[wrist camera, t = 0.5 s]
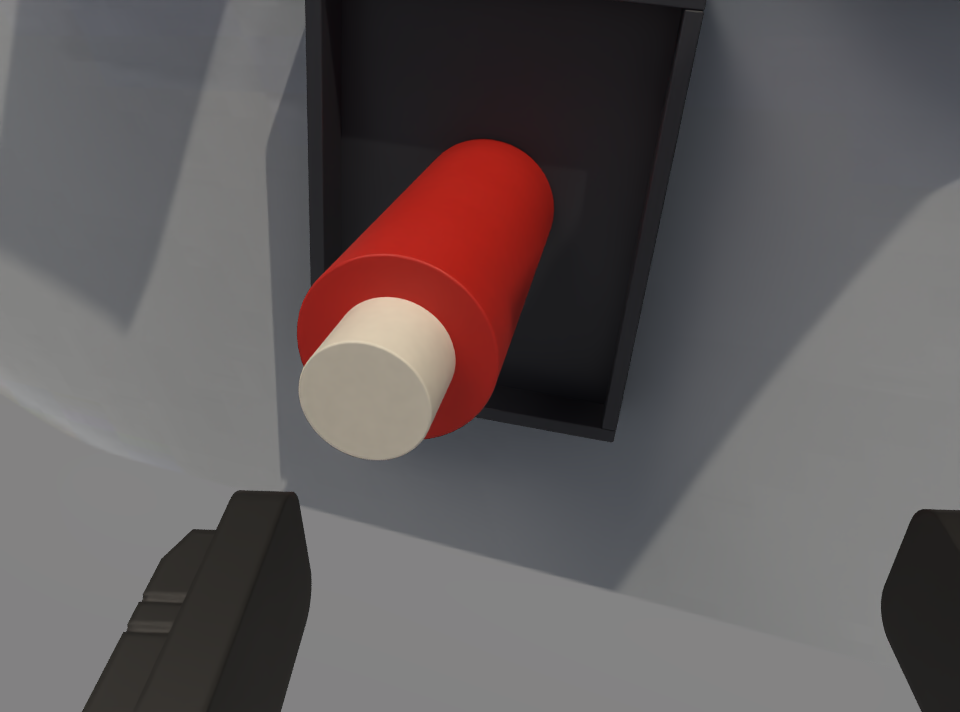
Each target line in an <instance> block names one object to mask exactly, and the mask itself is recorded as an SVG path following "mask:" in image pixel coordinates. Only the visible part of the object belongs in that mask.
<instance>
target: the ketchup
mask: <svg viewBox="0 0 960 712" xmlns="http://www.w3.org/2000/svg"><path fill="white" fill-rule="evenodd" d="M553 217H554V200H553V195H552V191H551V188H550V185H549V182H548V180H547V178H546V176H545V174H544V173H543V171H542V170H541V168H540V167H539V166H538V165H537V163H536V162H535V161H534V160H533V159H532V158H531V157H530V156H528V155H527V154H526V153H525V152H523V151H522V150H520V149H519V148H517V147H515V146H513V145H511V144H508V143H505V142H502V141H498V140H493V139H473V140H468V141H464V142H461V143H458V144H456V145H454V146H452V147H450V148H449V149H447V150H446V151H444V152H443V153H442V154H441V155H440V156H439V157H437V158H436V159H435V160H434V161H433V162H432V163H431V164H430V165H429V167H428V168H427V169H426V170H425V171H424V172H423V173H422V174H421V175H420V176H419V177H418V178H417V179H416V180H415V181H414V182H413V183H412V184H411V185H410V186H409V187H408V188H407V189H406V190H405V191H404V192H403V193H402V194H401V195H400V196H399V197H398V198H397V199H396V200H395V201H394V202H393V203H392V204H391V205H390V206H389V207H388V208H387V209H386V210H385V211H384V212H383V213H382V214H381V215H380V216H379V217H378V218H377V219H376V220H375V221H374V222H373V223H372V224H371V225H370V226H369V227H368V228H367V229H366V230H365V231H364V232H363V233H362V234H361V236H360V237H359V238H358V239H357V240H356V241H355V242H354V243H353V244H352V245H351V246H350V247H349V248H348V249H347V250H346V251H345V252H344V253H343V254H342V255H341V256H340V257H339V258H338V259H337V260H336V261H335V262H334V263H333V264H332V265H331V266H330V267H329V268H328V269H327V270H326V271H325V272H324V273H323V274H322V275H321V276H320V277H319V278H318V279H317V280H316V281H315V283H314V284H313V285H312V287H311V288H310V289H309V291H308V293H307V295H306V296H305V298H304V300H303V303H302V306H301V309H300V312H299V317H298V323H297V340H298V349H299V353H300V357H301V360H302V363H303V366H304V368H303V370H302V373H301V375H300V380H299V399H300V403H301V407H302V410H303V412H304V415H305V417H306V418H307V420H308V422H309V423H310V425H311V426H312V428H313V429H314V430H315V431H316V433H317V434H318V435H319V436H320V437H321V438H322V439H324V440H325V441H326V442H327V443H329V444H330V445H331V446H333V447H334V448H336V449H338V450H339V451H341V452H343V453H346V454H348V455H351V456H353V457H357V458H361V459H366V460H379V461H380V460H389V459H394V458H397V457H400V456H403V455H405V454H407V453H409V452H410V451H412V450H413V449H414V448H416V447H417V446H418V445H419V444H420V443H421V442H422V441H423V439H430V438H435V437H439V436H442V435H445V434H448V433H451V432H453V431H455V430H457V429H459V428H461V427H463V426H464V425H465V424H467V423H468V422H470V421H471V420H472V419H473V418H474V417H475V416H477V415H478V414H479V413H480V412H481V410H482V409H483V408H484V406H485V405H486V404H487V402H488V401H489V399H490V397H491V395H492V393H493V391H494V388H495V385H496V382H497V379H498V377H499V374H500V371H501V368H502V365H503V363H504V360H505V357H506V354H507V351H508V348H509V346H510V343H511V340H512V337H513V334H514V331H515V329H516V326H517V323H518V320H519V317H520V315H521V312H522V309H523V306H524V303H525V300H526V298H527V295H528V292H529V289H530V286H531V284H532V281H533V278H534V275H535V272H536V269H537V267H538V264H539V261H540V258H541V255H542V252H543V250H544V247H545V244H546V241H547V238H548V236H549V233H550V230H551V227H552V223H553Z"/></svg>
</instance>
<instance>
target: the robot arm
mask: <svg viewBox="0 0 960 712" xmlns="http://www.w3.org/2000/svg"><path fill="white" fill-rule="evenodd" d="M310 599H311V569H310V563H309V557H308V552H307V546H306V540H305V534H304V528H303V522H302V517H301V511H300V505H299V500H298V497H297V495H296V494H295V493H294V492H277V491H245V490H239V491H236V492H235V493H234V494H233V496H232V497H231V499H230V501H229V503H228V505H227V508H226V510H225V512H224V514H223V516H222V518H221V520H220V523H219V525H218V527H217V529H216V530H199V529H197V530H196V529H193V530H192V531H191V532H190V533H188V534H187V535H186V536H185V537H184V538H183V539H182V540H181V541H180V542H179V543H178V544H177V545H176V546H175V547H174V548H173V549H172V550H171V551H169V552H168V554H166V555H165V556H164V557H163V558H162V559H161V561H160V563H159V565H158V566H157V568H156V570H155V572H154V574H153V576H152V578H151V580H150V582H149V584H148V586H147V588H146V590H145V591H144V593H143V600H142V602H139V603H138V605H137V607H136V609H135V611H134V613H133V615H132V617H131V618H130V620H129V623H128V628H127V631H126V632H123V634H122V636H121V638H120V640H119V642H118V644H117V645H116V647H115V649H114V651H113V653H112V655H111V657H110V659H109V661H108V663H107V665H106V667H105V669H104V671H103V673H102V674H101V676H100V678H99V680H98V682H97V684H96V686H95V688H94V690H93V692H92V694H91V696H90V698H89V699H88V701H87V703H86V705H85V707H84V709H83V711H82V712H281V709H282V705H283V702H284V698H285V695H286V691H287V688H288V684H289V681H290V677H291V674H292V670H293V667H294V663H295V660H296V656H297V653H298V649H299V646H300V642H301V639H302V635H303V632H304V628H305V624H306V621H307V617H308V612H309V607H310ZM881 614H882V621H883V626H884V630H885V633H886V636H887V639H888V641H889V643H890V645H891V647H892V650H893V652H894V654H895V656H896V658H897V660H898V662H899V664H900V667H901V669H902V671H903V673H904V675H905V677H906V679H907V681H908V684H909V686H910V688H911V690H912V692H913V694H914V696H915V699H916V700H917V703H918V705H919V707H920V709H921V711H922V712H960V510H934V509H922V510H919V511H918V512H917V513H915V515H914V516H913V517H912V519H911V521H910V524H909V526H908V529H907V531H906V534H905V536H904V539H903V541H902V544H901V546H900V549H899V551H898V553H897V556H896V558H895V561H894V563H893V566H892V568H891V571H890V573H889V576H888V578H887V581H886V583H885V586H884V589H883V592H882V598H881Z"/></svg>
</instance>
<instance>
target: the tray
mask: <svg viewBox="0 0 960 712" xmlns="http://www.w3.org/2000/svg"><path fill="white" fill-rule="evenodd" d="M705 5H706V0H305V16H306V66H307V116H308V166H309V215H310V265H311V287H312V285H313V284H314V283H315V281H316V280H317V279H318V278H319V277H320V276H321V275H322V274H323V273H324V272H325V271H326V270H327V269H328V268H329V267H330V266H331V265H332V264H333V263H334V262H335V261H336V260H337V259H338V258H339V257H340V256H341V255H342V254H343V253H344V252H345V251H346V250H347V249H348V248H349V247H350V246H351V245H352V244H353V243H354V242H355V241H356V240H357V239H358V238H359V237H360V236H361V234H362V233H363V232H364V231H365V230H366V229H367V228H368V227H369V226H370V225H371V224H372V223H373V222H374V221H375V220H376V219H377V218H378V217H379V216H380V215H381V214H382V213H383V212H384V211H385V210H386V209H387V208H388V207H389V206H390V205H391V204H392V203H393V202H394V201H395V200H396V199H397V198H398V197H399V196H400V195H401V194H402V193H403V192H404V191H405V190H406V189H407V188H408V187H409V186H410V185H411V184H412V183H413V182H414V181H415V180H416V179H417V178H418V177H419V176H420V175H421V174H422V173H423V172H424V171H425V170H426V169H427V168H428V167H429V165H430V164H431V163H432V162H433V161H434V160H435V159H436V158H437V157H439V156H440V155H441V154H442V153H443V152H444V151H446V150H447V149H449V148H450V147H452V146H454V145H456V144H458V143H461V142H464V141H468V140H473V139H493V140H498V141H502V142H505V143H508V144H511V145H513V146H515V147H517V148H519V149H520V150H522V151H523V152H525V153H526V154H527V155H528V156H530V157H531V158H532V159H533V160H534V161H535V162H536V163H537V165H538V166H539V167H540V168H541V170H542V171H543V173H544V174H545V176H546V178H547V180H548V182H549V185H550V188H551V191H552V195H553V200H554V217H553V223H552V227H551V230H550V233H549V236H548V238H547V241H546V244H545V247H544V250H543V252H542V255H541V258H540V261H539V264H538V267H537V269H536V272H535V275H534V278H533V281H532V284H531V286H530V289H529V292H528V295H527V298H526V300H525V303H524V306H523V309H522V312H521V315H520V317H519V320H518V323H517V326H516V329H515V331H514V334H513V337H512V340H511V343H510V346H509V348H508V351H507V354H506V357H505V360H504V363H503V365H502V368H501V371H500V374H499V377H498V379H497V382H496V385H495V388H494V391H493V393H492V395H491V397H490V399H489V401H488V402H487V404H486V405H485V406H484V408H483V409H482V410H481V412H480V413H479V414H478V415H477V416H475V417H477V418H483V419H488V420H493V421H499V422H504V423H510V424H515V425H520V426H526V427H531V428H537V429H542V430H547V431H553V432H558V433H564V434H569V435H575V436H580V437H585V438H591V439H596V440H602V441H607V442H613V441H614V437H615V432H616V427H617V423H618V418H619V413H620V408H621V404H622V399H623V394H624V389H625V385H626V380H627V375H628V370H629V366H630V361H631V356H632V351H633V347H634V342H635V337H636V332H637V328H638V323H639V318H640V313H641V309H642V304H643V299H644V294H645V290H646V285H647V280H648V275H649V271H650V266H651V261H652V256H653V252H654V247H655V242H656V237H657V233H658V228H659V223H660V218H661V214H662V209H663V204H664V199H665V195H666V190H667V185H668V181H669V176H670V171H671V166H672V162H673V157H674V152H675V147H676V143H677V138H678V133H679V128H680V124H681V119H682V114H683V109H684V105H685V100H686V95H687V90H688V86H689V81H690V76H691V71H692V67H693V62H694V57H695V52H696V48H697V43H698V38H699V33H700V29H701V24H702V19H703V14H704V12H703V10H704V9H705Z"/></svg>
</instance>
